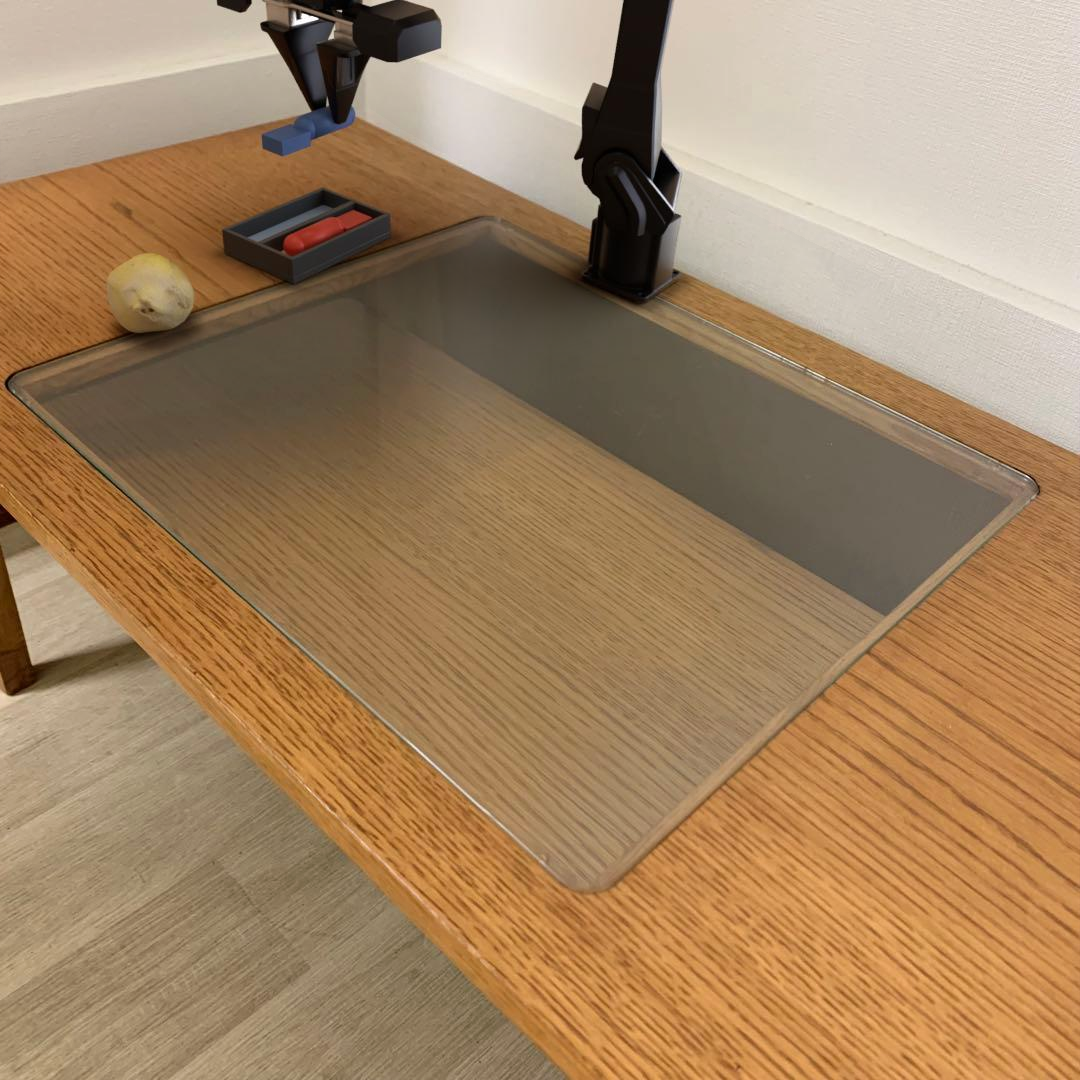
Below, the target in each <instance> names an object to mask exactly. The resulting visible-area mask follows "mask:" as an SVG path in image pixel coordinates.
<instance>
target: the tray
mask: <svg viewBox="0 0 1080 1080" xmlns="http://www.w3.org/2000/svg"><path fill="white" fill-rule="evenodd" d="M352 210H355V211H357V212H360V213H362V214H365V215H367V216H370V217H372V220H370V221H368V222H366V223H364V224H362V225H359V226H357V227H355V228H353V229H351V230H349V231H347V232H344V233H342V234H340V235H338V236H336V237H334V238H331V239H329V240H327V241H325V242H323V243H321V244H319V245H316V246H314V247H312V248H310V249H308V250H306V251H304V252H301V253H299V254H297V255H295V256H293V257H291V256H289V255H287V254H286V253H285V251H284V247H283V244H284V240H285V238H286V237H287V236H289V235H290V234H293V233H295V232H297V231H299V230H302V229H304V228H306V227H308V226H310V225H313V224H315V223H317V222H319V221H322V220H324V219H326V218H329V217H335V218H336V217H338V216H341V215H343V214H345V213H347V212H350V211H352ZM391 224H392V223H391V213H389V212H387V211H385V210H382V209H379V208H377V207H374V206H372V205H369V204H367V203H364V202H361V201H359V200H357V199H354V198H351V197H348V196H346V195H344V194H341V193H338V192H336V191H334V190H331V189H329V188H326V187H319V188H317V189H314V190H313V191H310V192H307V193H305V194H303V195H300V196H298V197H296V198H292V199H291V200H289V201H286V202H283V203H282V204H281V203H280V204H279V205H277V206H274V207H271V208H269V209H267V210H265V211H262V212H260V213H258V214H255V215H253V216H250V217H248V218H246V219H243V220H241V221H238V222H235V223H233V224H231V225H229V226H226V227H224V228H222V229H221V233H222V242H223V243H222V244H223V251H224V254H225V255H227V256H229V257H232V258H233V259H235V260H239V261H241V262H243V263H245V264H247V265H249V266H252V267H254V268H256V269H259V270H261V271H263V272H265V273H268V274H269V275H272V276H274V277H277V278H278V279H281V280H282V281H285V282H287V283H290V284H292V285H296V284H298V283H300V282H302V281H303V280H306V279H308V278H310V277H312V276H314V275H316V274H318V273H321V272H322V271H325V270H326V269H328V268H330V267H333V266H334V265H336V264H339V263H340V262H343V261H345V260H347V259H349V258H351V257H353V256H355V255H357V254H359V253H361V252H363V251H366V250H367V249H370V248H371V247H374V246H375V245H378V244H379V243H382V242H383V241H386V240H388V239H390V238H391V237H392V236H391V235H392V234H391V229H392V228H391V227H392V226H391Z"/></svg>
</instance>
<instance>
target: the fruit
mask: <svg viewBox="0 0 1080 1080" xmlns="http://www.w3.org/2000/svg"><path fill="white" fill-rule="evenodd" d="M106 297H107V303H108V305H109V308H110V311H111V313H112V315H113V317H114V318H115V319H116V321H117V322H118V324H120V325H121V327H123V328H124V329H125V330H127V331H129V332H131V333H134V334H143V333H152V332H161V331H168V330H172V329H175V328H176V327H178V326H180V325H181V324H183V323H184V322H186V320H187V318H188V317H189V315H190V314H191V313H192V310H193V308H194V302H195V290H194V288H193V286H192V284H191V281H190V280H189V279H188V277H187V275H186V274H185V273H184V272H183V270H182V269H181V268H180V267H179V266H178V264H177V263H175V262H174V261H173V260H171V259H170V258H167V257H166V256H163V255H160V254H158V253H153V252H144V253H140V254H137V255H135V256H133V257H131V258H130V259H128V260H127V261H125V262H123V263H122V264H120V265H118V266H117V267H116V268H115V269H113V270H112V271H111V272H110V273H109V275H108V276H107V279H106Z"/></svg>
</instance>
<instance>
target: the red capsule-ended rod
mask: <svg viewBox="0 0 1080 1080" xmlns="http://www.w3.org/2000/svg"><path fill="white" fill-rule="evenodd" d="M370 220H372V217H370V216H367V215H365V214H362V213H360V212H357V211H355V210H352V211H350V212H347V213H345V214H343V215H341V216H338V217H336V218H335V217H329V218H326V219H324V220H322V221H319V222H317V223H315V224H313V225H310V226H308V227H306V228H304V229H302V230H299V231H297V232H295V233H293V234H290V235H289V236H287V237H286V238H285V240H284V244H283V247H284V251H285V253H286V254H287V255H289V256H291V257H293V256H295V255H297V254H299V253H301V252H304V251H306V250H308V249H310V248H312V247H314V246H316V245H319V244H321V243H323V242H325V241H327V240H329V239H331V238H334V237H336V236H338V235H340V234H342V233H344V232H347V231H349V230H351V229H353V228H355V227H357V226H359V225H362V224H364V223H366V222H368V221H370Z"/></svg>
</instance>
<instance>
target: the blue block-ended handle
mask: <svg viewBox="0 0 1080 1080" xmlns="http://www.w3.org/2000/svg"><path fill="white" fill-rule="evenodd" d="M355 121H356V110H355V108H354V107H353V105H352V106H351V109H350V112H349V115H348V118H347V121H346V122H345V123H342V124H340V125H338V124H335V123H334V120H333V117H332V114H331V111H330V107H329V105H326V107H324V108H321V109H318V110H315V111H312V112H311V111H309V112H307V113H306V112H305V113H304V114H302V115H299V116H297V117H296V118H295V120H294V121H293V124H292V123H289V124H285V125H283V126H280V127H278V128H275V129H272V130H269V131H266V132H264V133H261V146H262V149H263V150H265V151H268V152H270V153H272V154H275V155H277V156H280V157H286V156H288V155H291V154H293V153H296V152H299V151H302V150H304V149H307V148H310V147H311V146H312V141H314V140H317V139H319V138H321V137H324V136H327V135H329V134H332V133H335V132H337V131H340V130H343V129H346V128H348V127H350V126H352V125H353V124H354V122H355Z"/></svg>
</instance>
